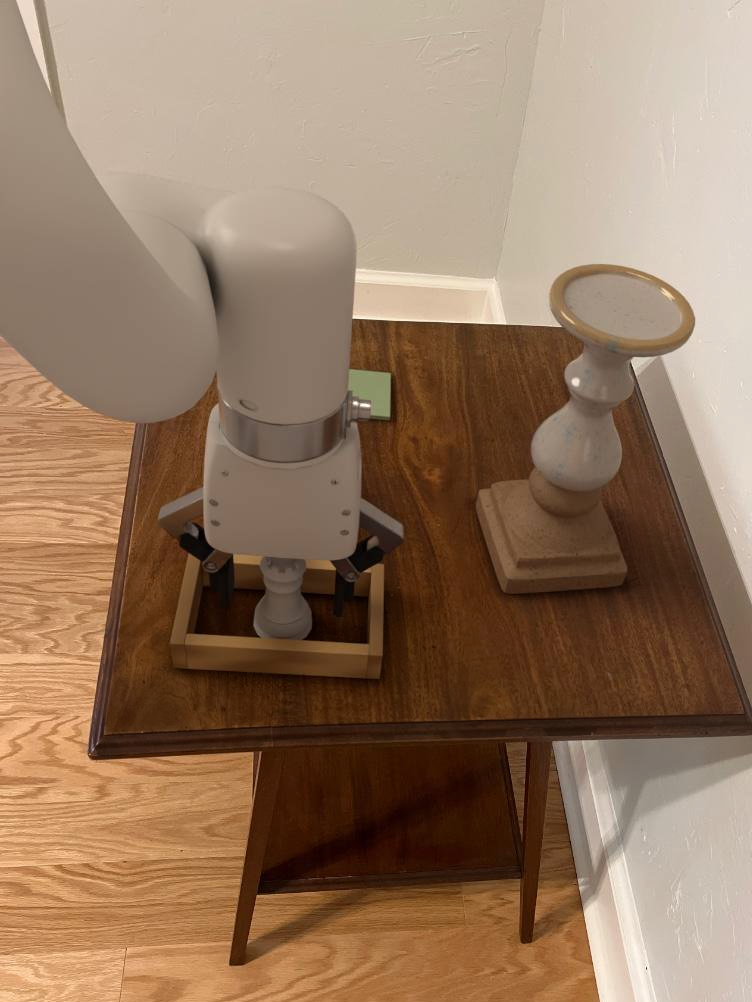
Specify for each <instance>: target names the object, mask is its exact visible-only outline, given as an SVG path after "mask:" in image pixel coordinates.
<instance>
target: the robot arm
mask: <svg viewBox="0 0 752 1002" xmlns="http://www.w3.org/2000/svg"><path fill="white" fill-rule="evenodd" d="M34 51H35V50H34V48H33V45H32V43H31V40H30V36H29V33H28V31H27V28H26V24H25V22H24V19H23V16H22V13H21V10H20V7H19V4H18V1H17V0H0V337H1V338H2V339H4V341H5V342H6V343H8V345H9V346H11V347H12V348H13V350H15V351H16V352H17V353H18V354H19V355H20V356H21V357H22V358H23V359H25V360H26V362H27V363H29V365H31V366H32V368H34V369H35V370H36V371H37V372H38V373H39V374H40V375H41V376H42V377H44V378H45V379H46V380H47V381H48V382H50V383H51V384H52V385H53V386H54V387H55V388H57V390H59V391H61V392H62V393H63V394H64V395H66V396H67V397H69V398H70V399H72V400H73V401H75V402H77V403H78V404H80V405H81V406H83V407H85V408H86V409H88V410H90V411H93V412H95V413H97V414H98V415H101V416H104V417H107V418H110V419H112V420H117V421H120V422H123V423H131V424H132V423H133V424H154V423H158V422H159V423H160V422H164V421H169V420H172V419H173V418H176V417H178V416H181V415H183V414H184V413H186V412H187V411H189V410H190V409H192V408H193V407H195V405H196V404H197V403H198V402H200V400H201V399H202V398H203V397H204V396H205V395H206V393H207V391H208V390H209V388H210V387H211V385H212V383H213V381H214V379H215V376H216V384H217V385H216V387H217V401H218V402H217V404H215V405H214V406H213V407H212V409H211V411H210V414H209V419H208V424H207V429H206V435H205V436H206V437H205V447H204V460H203V461H204V462H203V486H202V487H200V488H198V489H196V490H194V491H192V492H189V493H187V494H185V495H183V496H180V497H179V498H177V499H175V500H172V501H171V502H168V503H166V504H164V505H162V506H161V507H160V509H159V512H158V517H157V521H156V523H157V525H158V526H159V528H161V529H162V530H163V531H164V532H165V533H167V534H168V535H169V536H170V537H171V538H172V539H174V540H175V539H176V540H177V541H178V542H179V543H178V546H179V547H180V548H181V549H182V550H184V551H185V552H186V553H187V554H189V553H190V554H191V555H192V556H194V557H195V558H197V559H198V560H200V561H201V562H203V563H202V568H203V569H204V570H205V571H207V572H209V581H210V587H209V589H210V591H209V592H210V593H211V594H217V595H218V606H219V611H228V609H229V610H231V607H232V600H233V594H234V589H235V588H234V581H235V575H234V559H233V554H239V555H251V556H263V557H277V558H292V559H308V560H329V561H330V562H331V563H332V565H333V566H334V567H335V568H336V575H335V591H334V595H333V607H332V616H335V618H343V615H344V614H343V613H344V603H345V602H349V603H353V602H354V597H355V596H354V585H355V581H357V580H359V578H360V573H362V572H363V571H365V570H367V569H369V568H371V567H372V566H374V565H376V564H381V562H382V561H383V559H384V556H386V555H389V554H391V552H393V551H394V550H396V549H397V548H398V547H400V546H401V545H403V543H404V542H405V526H404V524H402V523H401V522H399V521H398V520H397V519H395V518H393V517H392V516H390V515H388V514H387V513H385V512H384V511H382V510H381V509H380V508H378V507H376V506H374V505H373V504H372V503H370V502H369V501H367V500H365V499H364V498H362V473H363V472H362V471H363V470H362V469H363V467H362V463H363V462H362V446H361V439H360V433H359V427H358V422H364V423H370V422H371V419H370V415H371V400H368V399H359V396H352V394H353V391H351V390H349V391H348V383H349V369H350V366H351V348H352V347H351V345H352V332H353V320H354V319H353V315H354V303H355V302H354V301H355V291H356V290H355V289H356V288H355V287H356V272H357V260H358V259H357V255H358V252H357V251H358V250H357V249H358V248H357V247H358V245H357V238H356V234H355V231H354V228H353V226H352V223H351V222H350V220H349V218H348V217H347V216H346V214H345V213H344V212H343V211H342V210H341V209H340V207H338V206H336V205H335V204H334V203H332V202H331V201H329V200H328V199H326V198H325V197H322V196H320V195H318V194H315V193H313V192H309V191H305V190H303V189H297V188H292V187H283V186H281V187H280V186H266V187H256V188H251V189H246V190H244V191H239V192H236V191H230V190H224V189H218V188H217V189H216V188H212V187H207V186H201V185H196V184H191V183H186V182H181V181H178V180H174V179H173V180H172V179H168V178H164V177H159V176H154V175H149V174H143V173H135V172H129V171H107V172H99V173H94V171H93V170H92V167H91V166H90V165H89V163H88V162H87V159H86V158H85V156H84V154H83V153H82V151H81V149H80V147H79V146H78V144H77V142H76V141H75V139H74V137H73V135H72V133H71V131H70V130H69V127H68V125H67V124H66V122H65V120H64V117H63V116H62V114H61V112H60V110H59V108H58V106H57V103H56V101H55V100H54V97H53V96H52V92H51V91H50V89H49V85H48V84H47V82H46V79H45V77H44V74H43V72H42V70H41V67H40V64H39V62H38V59H37V56H36V55H35V52H34ZM202 516H203V526H201V525H199V523H196V522H194V520H196V519H198V518H200V517H202ZM360 528H361V529H363V530H364V531H366V532H368V533H369V534H371V535H369V536H368V537H366V538H363V539H362V540H361V541H359V542H358V537H359V531H360V530H359V529H360Z"/></svg>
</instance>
